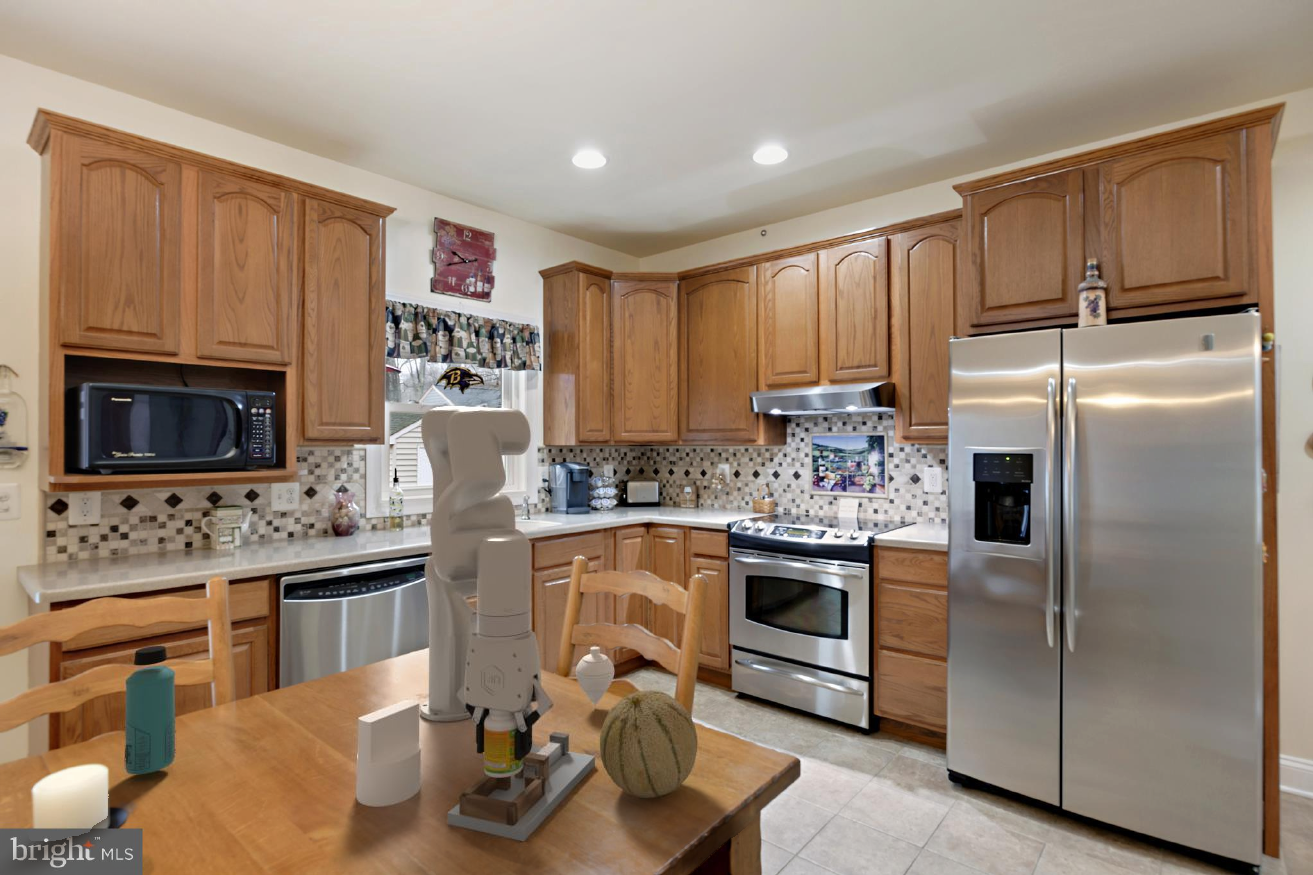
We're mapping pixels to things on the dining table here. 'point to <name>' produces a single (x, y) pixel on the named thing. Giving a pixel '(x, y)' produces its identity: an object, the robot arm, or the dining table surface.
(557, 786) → the dock board
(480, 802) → the socket
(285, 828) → the dining table surface
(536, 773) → the pin
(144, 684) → the beverage bottle
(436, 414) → the robot arm
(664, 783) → the cantaloupe
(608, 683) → the spinning top
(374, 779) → the cylinder with rectangular tab
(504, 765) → the supplement bottle
